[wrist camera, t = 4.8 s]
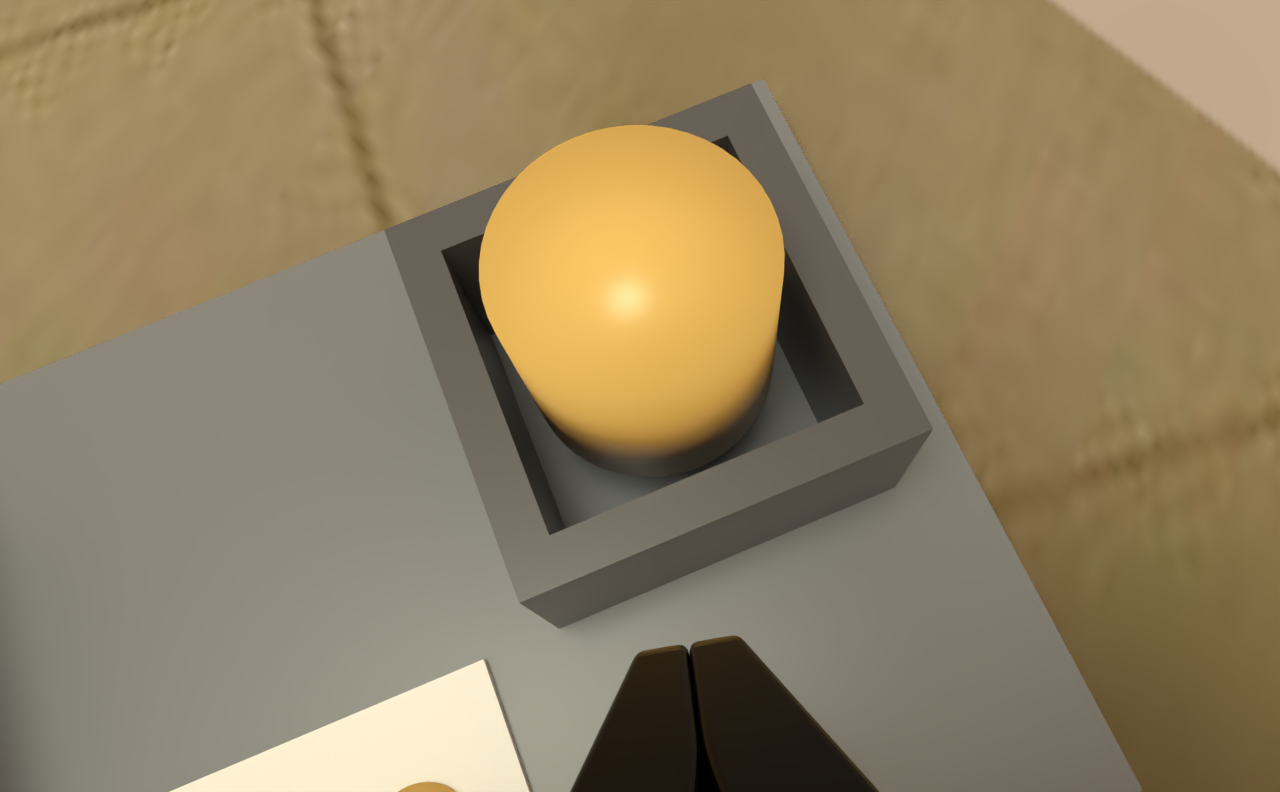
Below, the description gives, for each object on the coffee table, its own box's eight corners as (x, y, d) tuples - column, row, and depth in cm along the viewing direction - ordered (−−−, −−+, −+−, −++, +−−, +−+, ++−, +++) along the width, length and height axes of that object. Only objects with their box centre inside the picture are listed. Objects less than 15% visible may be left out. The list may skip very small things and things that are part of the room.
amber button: (813, 419, 18) (836, 331, 14) (581, 516, 18) (540, 453, 14) (713, 215, 20) (710, 82, 16) (498, 303, 20) (438, 191, 16)
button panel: (1112, 785, 20) (1251, 803, 14) (-329, 1421, 18) (-751, 1694, 13) (761, 116, 25) (770, -51, 19) (-385, 576, 23) (-704, 530, 18)
